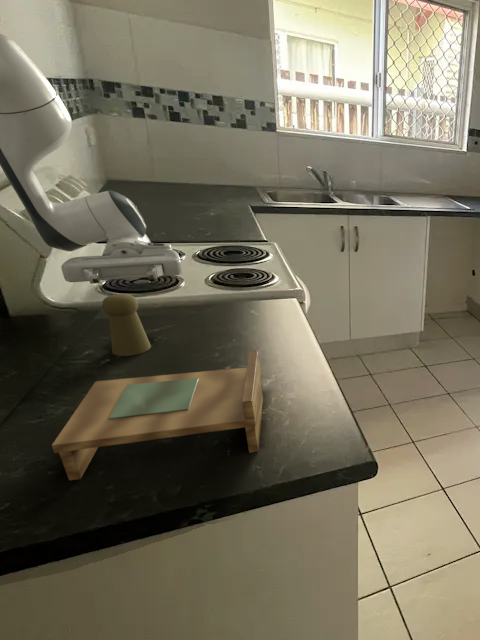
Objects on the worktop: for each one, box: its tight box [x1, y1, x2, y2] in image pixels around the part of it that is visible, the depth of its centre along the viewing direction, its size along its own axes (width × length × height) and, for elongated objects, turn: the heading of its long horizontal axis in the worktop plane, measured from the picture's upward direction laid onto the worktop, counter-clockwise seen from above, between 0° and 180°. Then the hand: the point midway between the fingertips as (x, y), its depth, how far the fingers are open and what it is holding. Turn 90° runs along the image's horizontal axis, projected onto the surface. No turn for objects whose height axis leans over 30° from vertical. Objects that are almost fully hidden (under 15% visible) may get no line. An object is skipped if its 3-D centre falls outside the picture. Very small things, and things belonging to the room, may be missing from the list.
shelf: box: [51, 349, 264, 481], centre depth 69 cm, size 22×16×9 cm
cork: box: [101, 293, 152, 357], centre depth 90 cm, size 6×6×11 cm
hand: (123, 277), depth 97 cm, fingers open, 8 cm apart
